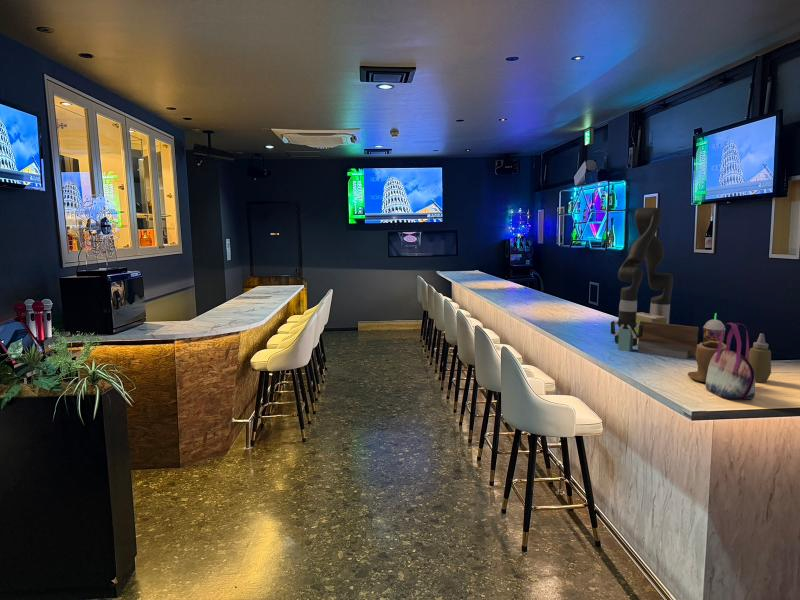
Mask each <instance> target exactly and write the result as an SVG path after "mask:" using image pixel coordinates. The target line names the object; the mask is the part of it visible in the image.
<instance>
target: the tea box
mask: <svg viewBox="0 0 800 600" xmlns="http://www.w3.org/2000/svg"><path fill="white" fill-rule="evenodd" d="M666 320H667V317H663V316H658V315H653V314H650V313H648V312H647V313H646V312H643V311H640V312H639V311H638V312H637V315H636V323H637V324H640V321H646V322H655V323H664V324H666ZM634 329H635V331H636V333H637V335H638V331H639V329H638V328H637V326H636V327H635V328H634ZM633 338H634V337H633ZM638 339H639V338H638ZM638 339H637V346H638Z"/></svg>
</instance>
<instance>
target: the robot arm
mask: <svg viewBox="0 0 800 600" xmlns="http://www.w3.org/2000/svg"><path fill="white" fill-rule="evenodd" d="M662 219H663V213H662V210H661V208H659V207H639V208H637V209H636V210H635V212H634V222H635V227H636V229H637V232H638V235H639V237H638V238H637V239H636V240H635V241H633V243H632V245H631V246H630V247H629V248H630V249H629V252H628V255H627V258H626V259H625V261H623V263H622V264H621V266H620V267H619V269H618V271H617V277H618V280H619V281H621V282H625V283H631V285H630V286H624V287H621V288H620V289H621V290H620V300H619V306H618V318H617V319H618V320H617V321H615V320H612V321H611V322H610V334H611V335H614V343H615V344H617V345H618V340H619V329H620V328H621V329H629V330H631V334H632V335H633V337H634V338H633V347H636V345H637V339H638V338H640V337H642V333H643V324H637V323H636V315H637V313H638V312H637V311H638V309H637V308H638V293H639V289H640V285H641V282H642V280H643V276H644V271H643V269H642V268H641V267H639V266H641V265H642V264H643V263H644V260H645V265H646V271H647V280H648V281H647V282H648V286H649V288H650V290H654V291H660V292H661V291H662V293H661V294H660V295H656V296H652V297H651V298H650V307H649V314H653V315H658V316H663V317H667V320H666V324H670V312H671V302H672V301H671V300H672V292H673V291H672V290H673V286H674V285H673V284H674V276H673V274H672V273H670V272H669V273H668V272H657V268H658V266H659V265H660V264H661V262H662V261H663V259H664V258H665V249H664V243H663V242H662V241H661V240H660V238H659V237H657V236H656V233H657V231H658V230H659V227H660V225H661V223H662ZM617 326H618V329H617V330H616V327H617ZM636 326H637V328H638V329H639V331H638V335H637V333H636V331H635V329H634V328H635V327H636ZM637 346H638V345H637Z"/></svg>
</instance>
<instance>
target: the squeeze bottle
mask: <svg viewBox="0 0 800 600" xmlns="http://www.w3.org/2000/svg"><path fill="white" fill-rule="evenodd" d="M749 363H750V364H751V365H752V367H753V370H754V373H755V383H767V382H768V379H769V377H770V376H771V374H772V351H771V350H770V349H769V343H767V342H766V338H765V334H764V333H759V336H758V338H757V340H756V341H754V342H753V344H752V347H751V348H749Z"/></svg>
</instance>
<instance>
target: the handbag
mask: <svg viewBox="0 0 800 600" xmlns="http://www.w3.org/2000/svg"><path fill="white" fill-rule="evenodd" d="M727 324H728V325H730V326H731V327H730V330H729V331H728V334H727V337H726V344H725V345H726V350H721V343H722V336H723V329H724V327H725V326H724V327H723V329H722V332H721V335H720V340H719V345H718V351H717V352H716V353H715V354H714V355H713V356H712V358H711V360H710V363H709V367H708V372H707V377H706V382H705V389H706V391H708V392H710V393H712V394H714V395H716V396H718V397H720V398H722V399H727V400H729V399H732V400H733V399H747V400H753V399H754V398H755V396H756V382H755V373H754V370H753V367H752V365H751V364H750V363H749V350H750V342H749V341H750V340H749V333H748V330H747V329H746V328H747V327H746V326H744V324H743V323H739V322H727V323H726V325H727ZM740 325H742V326H744V327H745V330H746V331H745V332H746V337H745V339H746V346H745V356H744V355H742V354H741V351H742V340H741V334H740V331H739V328H738V327H739V326H740ZM733 335H734V337H735V341H736V351H735V350H731V349H730V348H731V342H732V338H733Z"/></svg>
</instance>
